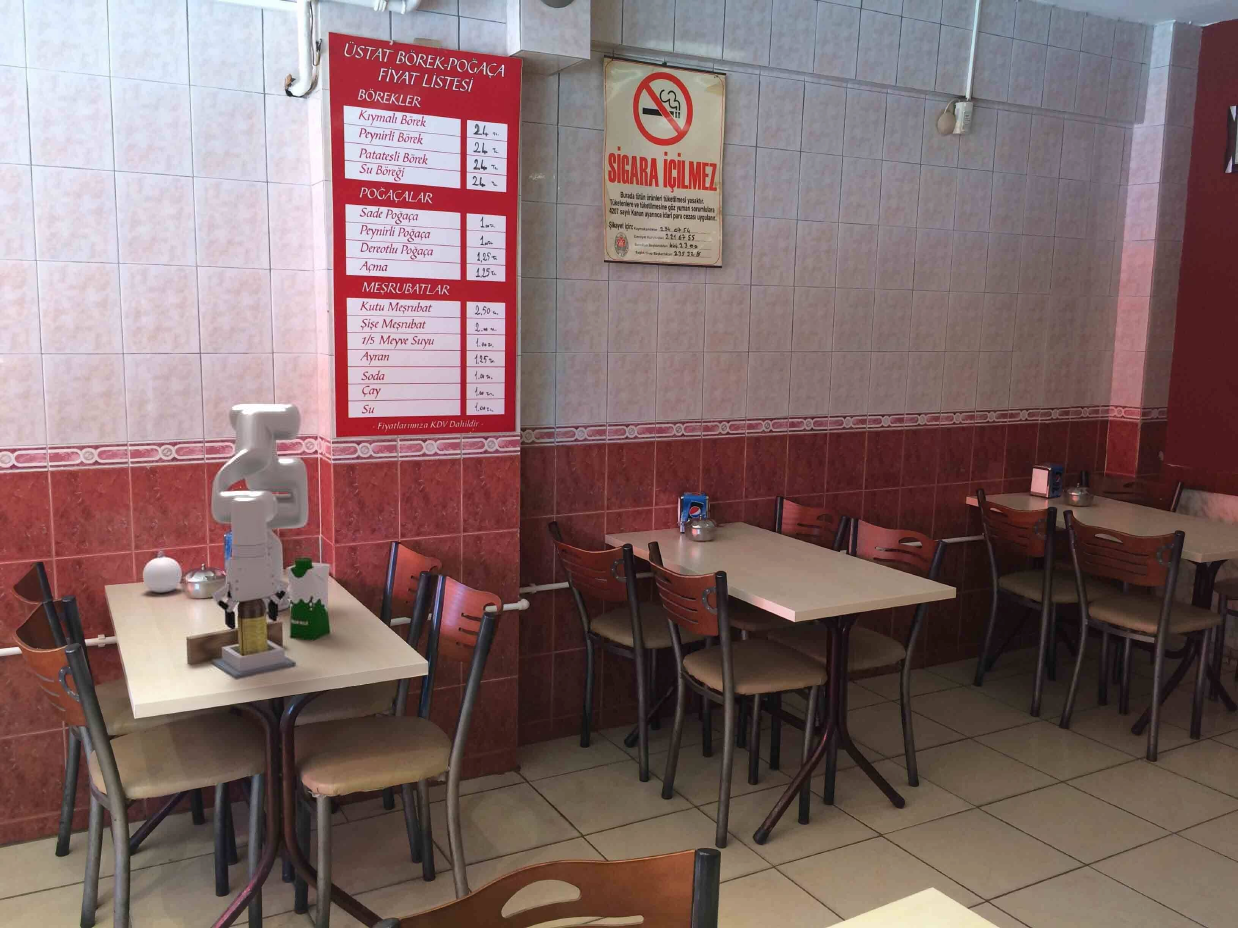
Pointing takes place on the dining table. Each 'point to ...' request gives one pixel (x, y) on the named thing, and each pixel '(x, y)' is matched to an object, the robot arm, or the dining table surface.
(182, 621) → the dining table surface
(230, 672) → the holder
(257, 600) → the sauce bottle
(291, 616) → the milk carton
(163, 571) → the ornament
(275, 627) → the walnut wall
